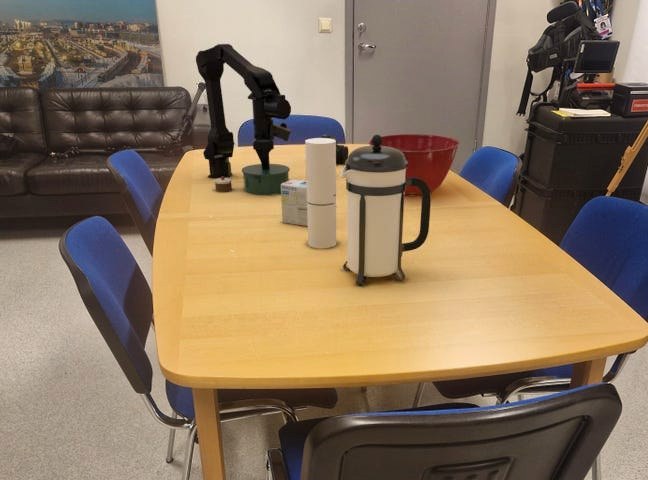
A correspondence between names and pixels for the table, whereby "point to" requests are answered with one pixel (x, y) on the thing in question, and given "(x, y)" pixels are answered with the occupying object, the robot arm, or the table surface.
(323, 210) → the cylindrical container
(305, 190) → the light bulb box
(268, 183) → the pot
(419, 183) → the coffee press
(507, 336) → the table surface
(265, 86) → the robot arm
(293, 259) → the table surface
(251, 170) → the pot lid
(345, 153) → the film camera
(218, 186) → the cake
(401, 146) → the mixing bowl
